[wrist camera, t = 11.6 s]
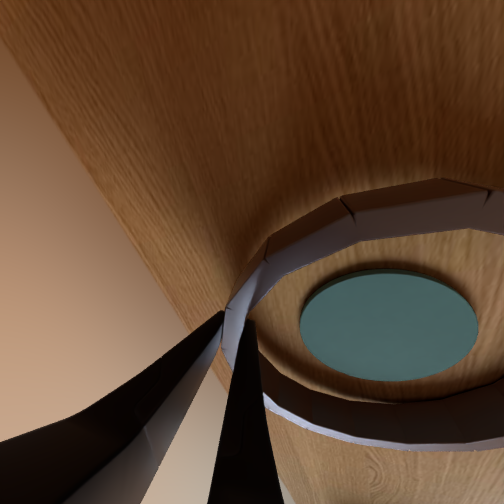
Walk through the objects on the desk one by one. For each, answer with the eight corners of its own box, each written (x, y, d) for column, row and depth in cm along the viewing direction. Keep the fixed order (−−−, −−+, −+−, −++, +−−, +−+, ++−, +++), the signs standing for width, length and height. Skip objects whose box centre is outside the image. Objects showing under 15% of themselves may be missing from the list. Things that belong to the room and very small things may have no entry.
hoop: (223, 371, 15) (214, 401, 13) (255, 143, 7) (242, 144, 5) (435, 432, 13) (456, 475, 12) (780, 237, 5) (1002, 280, 4)
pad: (286, 349, 13) (285, 354, 13) (326, 249, 9) (326, 253, 9) (411, 390, 12) (414, 397, 12) (522, 297, 8) (532, 304, 8)
